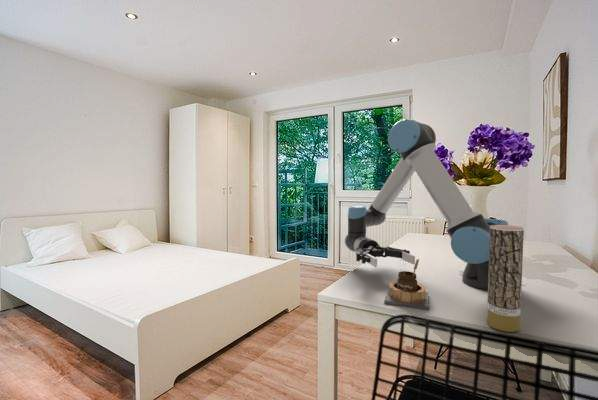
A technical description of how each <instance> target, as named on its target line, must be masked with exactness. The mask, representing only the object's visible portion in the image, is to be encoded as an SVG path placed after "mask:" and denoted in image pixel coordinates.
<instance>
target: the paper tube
mask: <svg viewBox="0 0 598 400" xmlns="http://www.w3.org/2000/svg"><path fill="white" fill-rule="evenodd" d="M490 226H491V227H490V242H489V273H488V290H487V303H486V304H487V306H486V307H487V310H486V311H487V312H486V314H487V315H486V322H487V324H488V325H489V326H490V328H492V329H494V330H497V331H501V332H505V333H516V332H518V331H519V330H520V328H521V313H522V311H521V309H522V307H521V306H522V281H523V263H524V262H523V258H524V235H525V234H524V232H525V230H524V227H523V226H518V225H510V224H508V225H490Z"/></svg>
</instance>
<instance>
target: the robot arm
mask: <svg viewBox="0 0 598 400" xmlns="http://www.w3.org/2000/svg"><path fill="white" fill-rule="evenodd" d="M436 141H437V138H436V132H435V130H434V129H433V128H432V127H431V126H430V125H428V124H426V123H422V122H419V121H417V120H414V119H412V118H411V119H409V118H408V119H407V118H406V119H405V118H404V119H401V120H399V121H397V122H396V123H394V124H393V125H392V126H391V128H390V130H389V133H388V136H387V142H388V146H389V147H390V148H391V150H392V151H393V152H396V153H398V154H399V155H400V159H399V160H398V162H397V164H396V165H395V167H394V169H393V170H392V171H391V173H390V175H389V176H388V178H387V179H386V181H385V183H384V184H383V186H381V188H380V190H379V192H378V193H377V195H376V197H375V198H374V200H373V201H372V203H371V204H370V206H369V207H368V209H367V207H366V206H363V205H352V206H349V207H348V214H347V234H346V236H345V238H344V244H345V246H346V248H347V249H348V250H350V251H352V252H354V253H355V255H356V262H360V261H361V263H362V264H364V265H365V264H368V265H370V266H372V267H375V268H377V267H378V258H387V257H389V258H395V259H396V258H397V259H401V260H402V259H403V260H402V261H404V260H405V261H404V262H407V263H408V264H411V265H415V263H416V256H415V255H413V254H411V252H410V250H407V249H400V248H396V247H391V246H386V247H384V246H380V245H379V243H378V242H377V241H376V240H374V239H371V238H369V237H367V228H368V227H373V226H379V225H382V224H383V223H384V222H386V218H387V212H388V211H389V209H390V208H392V206H393V204H394V202H395V201H396V200H397V199H398V197H399V195H400V193H402V191H403V190H404V188H405V186H406V185H407V184H408V182H409V181H410V180H411V178H412V176H413V175H414V173H415V172H416V174H417V176H418V177H419V180H420V181H421V182H422V184H423V186H424V188H425V189H426V191H427V192H428V193H429V196H430V198H431V199H432V200H433V202H434V204H435V205H436V206H437V209H438V210H439V211H440V214H441V215H442V217H443V218H444V219H445V222H446V224H447V226H446V229H445V231H446V233H447V234H448V236H449V238H450V247H451V250H452V252H453V254H454V255H455V256H456V257H457V258H458V259H459V260H461V261H463V262H465V263H466V265H465V267H464V269H463V272H462V275H461V277H462V278H461V279H462V282H463V283H464V284H466V285H467V286H470V287H473V288H477V289H482V290H487V291H488V273H489V242H490V227H491V226H490V225H509V222H508V221H506V220H505V219H496V218H485V217H484V215H483V214H482V213H481V212H477V211H475V210H474V209H472V206H471V205H470V203H469V202H468V201H467V200H466V198H465V196H464V195H463V193H462V192H461V190H460V188H459V187H458V186H457V184H456V182H455V181H454V179H453V178H452V176H451V175H450V173H449V172H448V170H447V169H446V167H445V166H444V164H443V162H442V161H441V159H440V158H439V157H438V155H437V154H436V151H435V149H436Z"/></svg>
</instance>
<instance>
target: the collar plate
mask: <svg viewBox="0 0 598 400" xmlns="http://www.w3.org/2000/svg"><path fill="white" fill-rule="evenodd" d="M426 288H427V287H426V286H424V285H423V284H422V283H421V284H420V283H419V282H417V291H404V290H400V289H397V281H392V282H390V283H389V285H388V290H387V292H386V295H385V298H384V300H383V302H384V304H385V305H391V306H392V305H393V306H398V307H405V308H412V309H419V310H425V311H426V310H427V311H429V292H428V291H426V290H427V289H426Z"/></svg>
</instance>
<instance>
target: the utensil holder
mask: <svg viewBox="0 0 598 400" xmlns="http://www.w3.org/2000/svg"><path fill="white" fill-rule="evenodd" d="M419 261H420V259H419V258H417V259H415V264H414V267H413V271H408V270H403V269H406V265H407V263H406V261H405V260H403V259H402V258H399V262H402V263H404V264H400V263H397V264H398V266H399V267H400V268H403V269H399V272H398V274H397V277H398V278H397V289H400V290H404V291H417V283H418V280H417V273H416V270H417V269H418V266H419ZM402 265H403V267H402Z"/></svg>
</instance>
